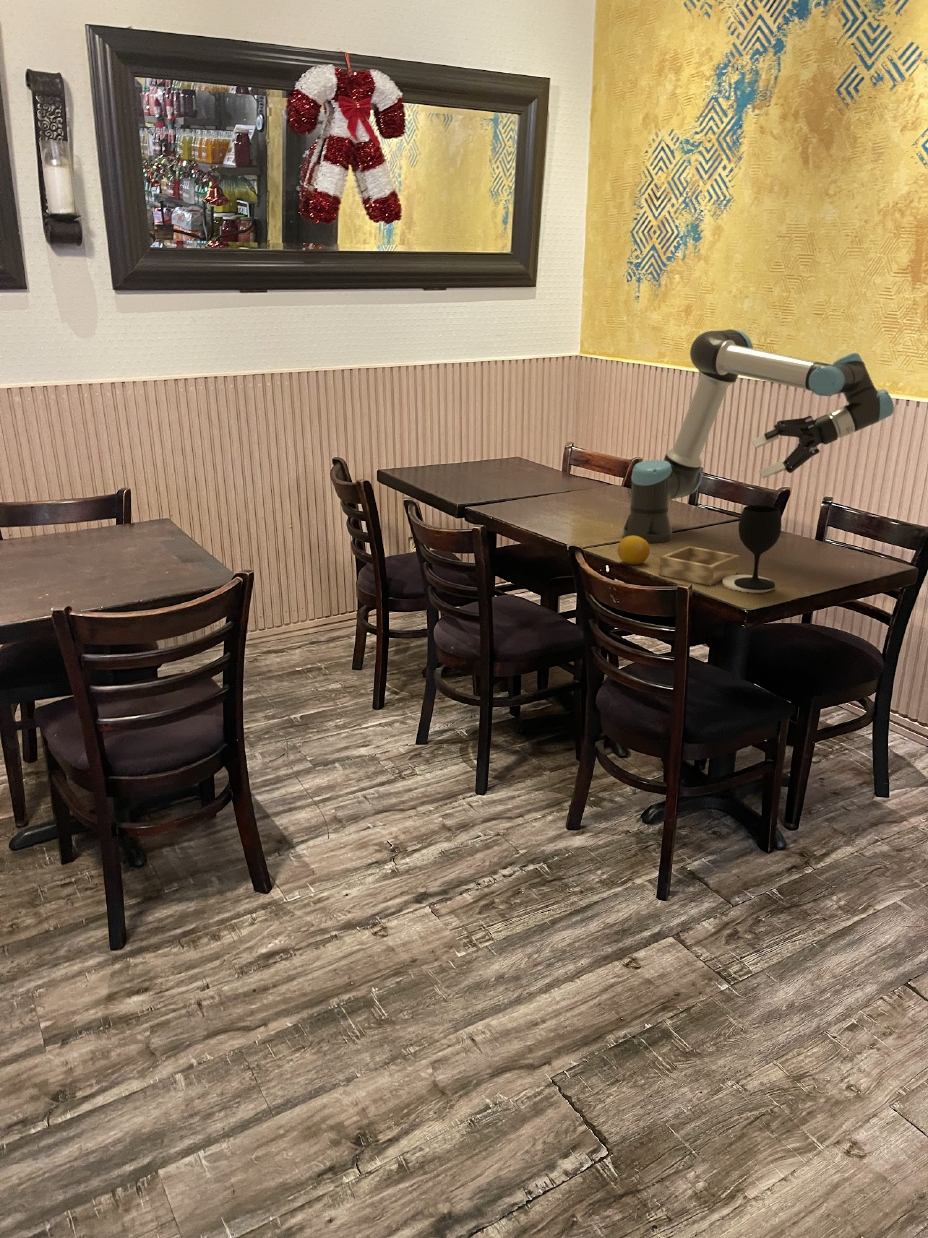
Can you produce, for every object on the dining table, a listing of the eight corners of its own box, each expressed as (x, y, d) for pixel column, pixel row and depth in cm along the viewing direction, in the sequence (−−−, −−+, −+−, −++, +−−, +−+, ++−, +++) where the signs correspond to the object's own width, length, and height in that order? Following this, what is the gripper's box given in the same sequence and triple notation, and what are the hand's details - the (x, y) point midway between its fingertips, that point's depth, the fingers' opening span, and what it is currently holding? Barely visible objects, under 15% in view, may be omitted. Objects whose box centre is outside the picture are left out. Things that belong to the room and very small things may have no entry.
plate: (713, 585, 249) (713, 582, 249) (736, 575, 258) (736, 571, 258) (759, 596, 241) (760, 592, 240) (782, 584, 250) (782, 581, 250)
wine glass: (776, 591, 241) (784, 513, 234) (734, 588, 243) (740, 512, 237) (774, 579, 250) (781, 505, 244) (733, 577, 253) (739, 503, 246)
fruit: (632, 558, 275) (634, 531, 272) (654, 564, 269) (655, 536, 266) (611, 563, 270) (612, 535, 267) (632, 569, 264) (634, 541, 261)
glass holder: (658, 574, 259) (660, 556, 257) (687, 563, 270) (688, 545, 268) (710, 585, 249) (711, 567, 248) (737, 573, 260) (739, 555, 258)
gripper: (835, 405, 244) (756, 440, 248) (842, 463, 263) (769, 495, 268) (822, 386, 248) (745, 421, 252) (830, 445, 268) (758, 477, 272)
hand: (757, 459), depth 260 cm, fingers open, 13 cm apart
